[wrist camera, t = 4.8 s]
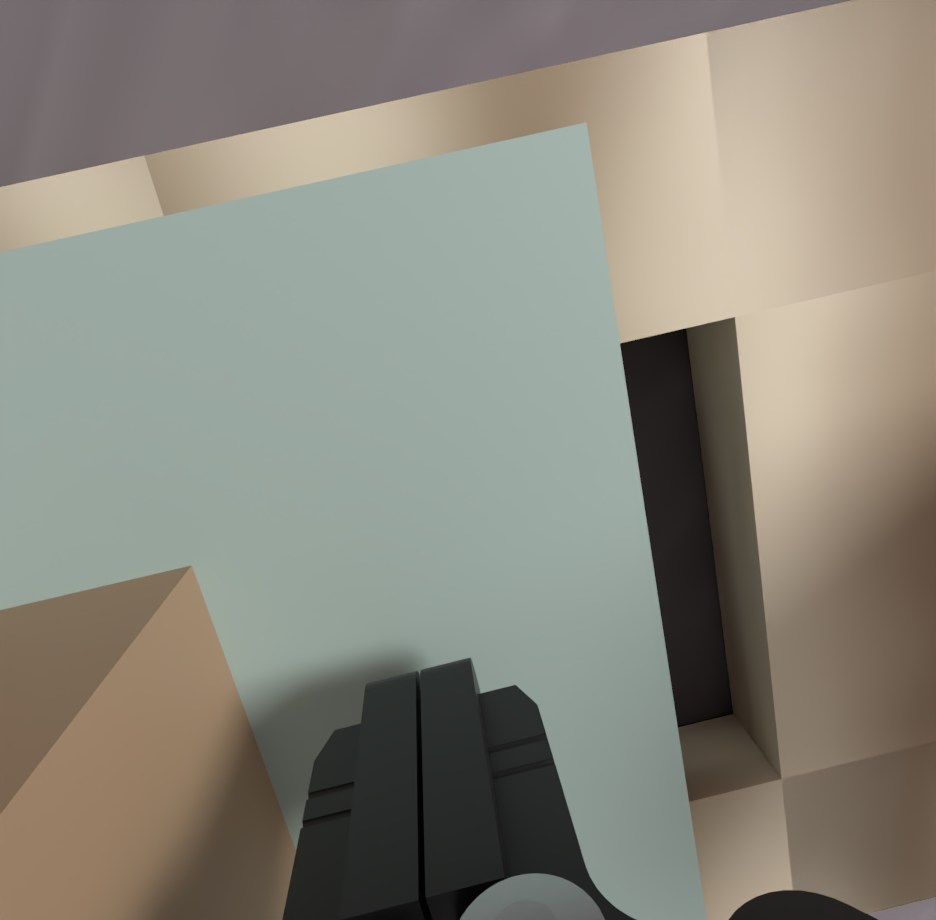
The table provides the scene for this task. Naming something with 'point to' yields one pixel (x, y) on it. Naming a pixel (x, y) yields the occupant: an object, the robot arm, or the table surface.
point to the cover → (318, 526)
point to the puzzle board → (729, 384)
